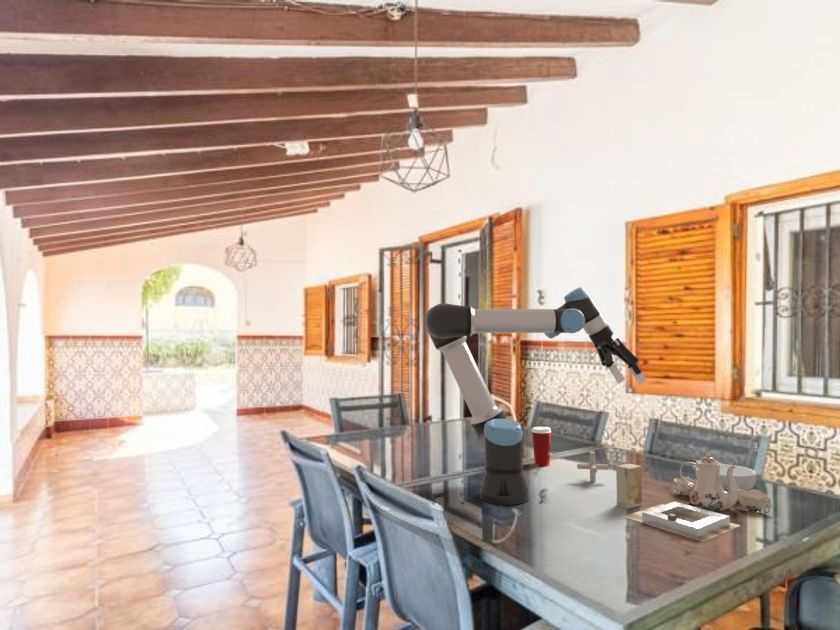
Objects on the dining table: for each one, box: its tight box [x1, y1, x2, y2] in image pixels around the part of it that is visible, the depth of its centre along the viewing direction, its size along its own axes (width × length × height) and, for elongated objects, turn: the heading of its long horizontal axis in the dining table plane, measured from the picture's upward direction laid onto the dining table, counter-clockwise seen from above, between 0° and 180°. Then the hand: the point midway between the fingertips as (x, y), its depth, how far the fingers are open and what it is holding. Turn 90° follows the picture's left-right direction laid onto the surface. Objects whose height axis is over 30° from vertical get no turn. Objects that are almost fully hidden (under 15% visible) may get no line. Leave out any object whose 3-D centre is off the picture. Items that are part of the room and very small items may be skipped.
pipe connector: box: [576, 451, 609, 484], centre depth 187 cm, size 10×10×10 cm
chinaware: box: [669, 452, 771, 515], centre depth 159 cm, size 28×17×17 cm, turn 44°
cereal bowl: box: [694, 463, 757, 492], centre depth 174 cm, size 17×17×7 cm
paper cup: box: [530, 426, 552, 467], centre depth 211 cm, size 8×8×14 cm
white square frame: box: [641, 501, 731, 540], centre depth 143 cm, size 15×15×4 cm
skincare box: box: [615, 463, 643, 510], centre depth 159 cm, size 6×4×12 cm
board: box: [622, 503, 742, 542], centre depth 145 cm, size 18×22×1 cm
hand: (632, 381), depth 186 cm, fingers open, 13 cm apart
